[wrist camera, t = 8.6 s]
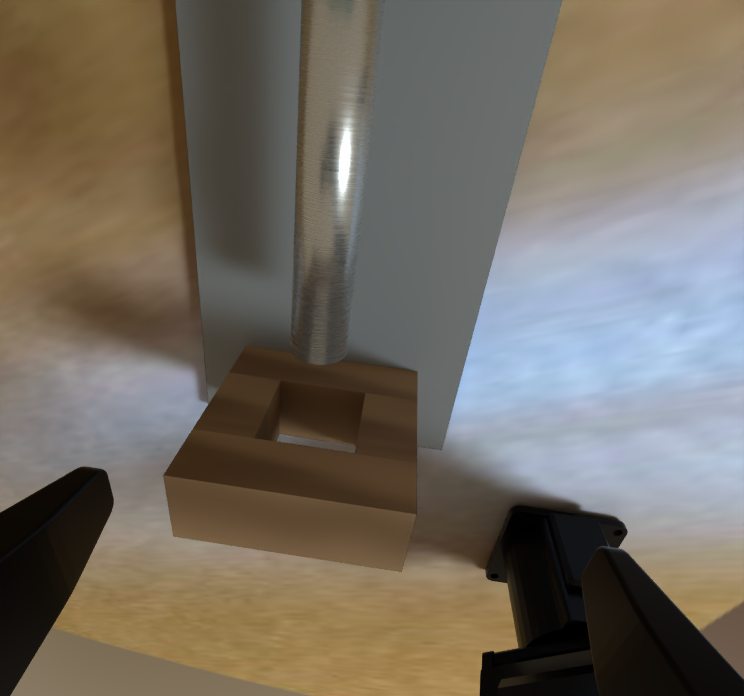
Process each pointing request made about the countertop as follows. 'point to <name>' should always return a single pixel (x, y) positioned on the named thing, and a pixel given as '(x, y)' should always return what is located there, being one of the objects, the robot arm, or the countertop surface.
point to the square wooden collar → (302, 462)
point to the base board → (383, 179)
